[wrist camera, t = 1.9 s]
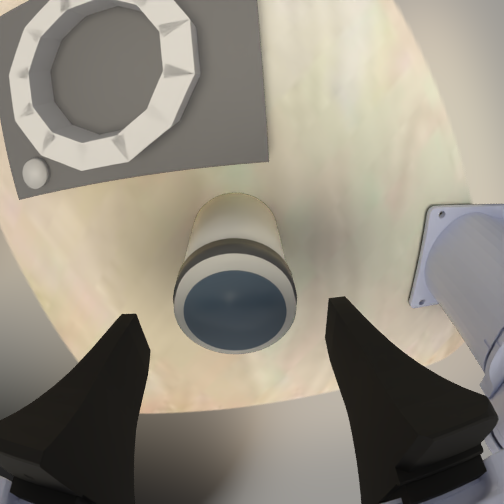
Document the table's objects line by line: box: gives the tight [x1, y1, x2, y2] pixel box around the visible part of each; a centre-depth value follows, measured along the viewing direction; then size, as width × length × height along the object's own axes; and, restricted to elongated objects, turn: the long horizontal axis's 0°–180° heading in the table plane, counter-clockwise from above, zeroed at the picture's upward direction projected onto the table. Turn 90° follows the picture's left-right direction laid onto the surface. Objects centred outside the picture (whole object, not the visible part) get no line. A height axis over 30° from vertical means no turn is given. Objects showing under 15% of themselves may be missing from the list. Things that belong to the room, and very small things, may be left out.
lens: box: [173, 193, 297, 354], centre depth 16 cm, size 5×5×7 cm
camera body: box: [0, 0, 269, 200], centre depth 12 cm, size 14×11×4 cm
